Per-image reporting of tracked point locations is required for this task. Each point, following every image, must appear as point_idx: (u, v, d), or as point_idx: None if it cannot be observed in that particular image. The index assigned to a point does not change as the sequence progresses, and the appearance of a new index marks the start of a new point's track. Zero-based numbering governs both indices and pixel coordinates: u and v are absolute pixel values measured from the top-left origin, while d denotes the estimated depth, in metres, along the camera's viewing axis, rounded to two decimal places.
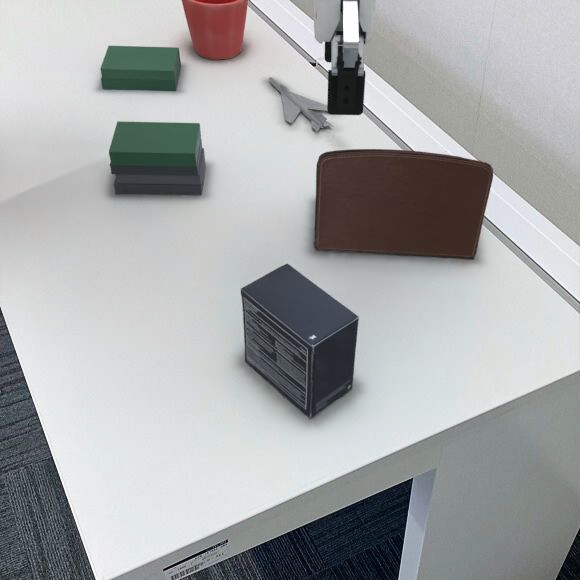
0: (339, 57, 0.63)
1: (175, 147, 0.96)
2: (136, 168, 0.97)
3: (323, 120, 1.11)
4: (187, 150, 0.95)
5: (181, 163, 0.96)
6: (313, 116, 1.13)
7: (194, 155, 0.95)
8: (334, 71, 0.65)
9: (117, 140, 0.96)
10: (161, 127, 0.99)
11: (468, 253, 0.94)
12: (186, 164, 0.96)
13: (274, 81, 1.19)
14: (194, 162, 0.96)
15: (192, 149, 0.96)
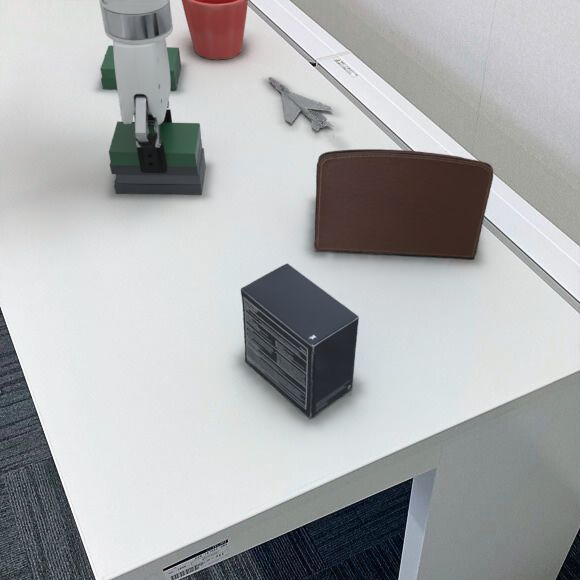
0: None
1: (175, 147, 0.96)
2: (136, 168, 0.97)
3: (323, 120, 1.11)
4: (187, 150, 0.95)
5: (181, 164, 0.96)
6: (313, 116, 1.13)
7: (194, 155, 0.95)
8: (138, 145, 0.92)
9: (117, 140, 0.96)
10: (161, 127, 0.99)
11: (468, 253, 0.94)
12: (186, 164, 0.96)
13: (274, 81, 1.19)
14: (194, 162, 0.96)
15: (192, 149, 0.96)
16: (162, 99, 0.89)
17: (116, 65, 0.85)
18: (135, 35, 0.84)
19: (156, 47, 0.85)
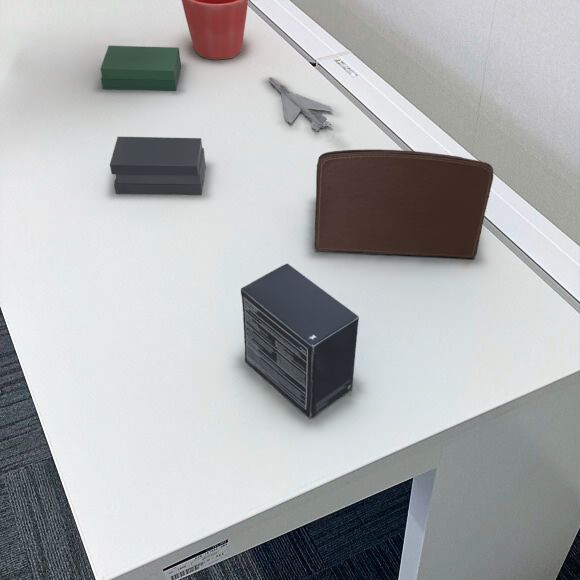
0: None
1: None
2: (136, 168, 0.97)
3: (323, 120, 1.11)
4: None
5: None
6: (313, 116, 1.13)
7: None
8: None
9: None
10: None
11: (468, 253, 0.94)
12: None
13: (274, 81, 1.19)
14: None
15: None
16: None
17: None
18: None
19: None
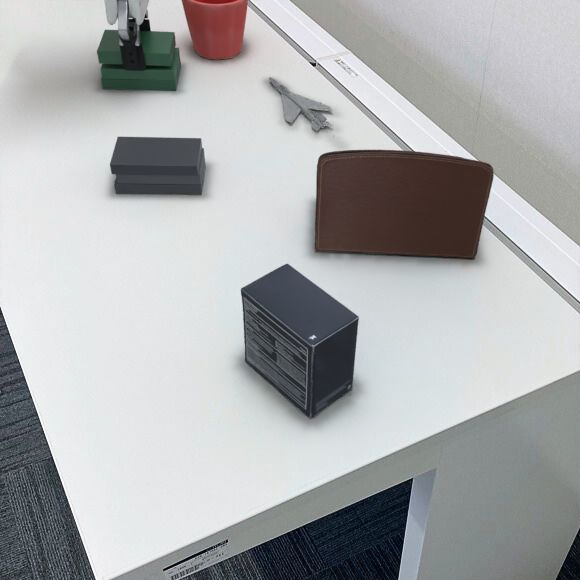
0: None
1: (153, 49, 1.14)
2: (136, 168, 0.97)
3: (323, 120, 1.11)
4: (162, 51, 1.14)
5: (158, 63, 1.14)
6: (313, 116, 1.13)
7: (169, 55, 1.14)
8: (121, 43, 1.10)
9: (104, 43, 1.14)
10: (141, 34, 1.17)
11: (468, 253, 0.94)
12: (162, 63, 1.14)
13: (274, 81, 1.19)
14: (169, 61, 1.14)
15: (167, 50, 1.14)
16: (141, 3, 1.08)
17: None
18: None
19: None
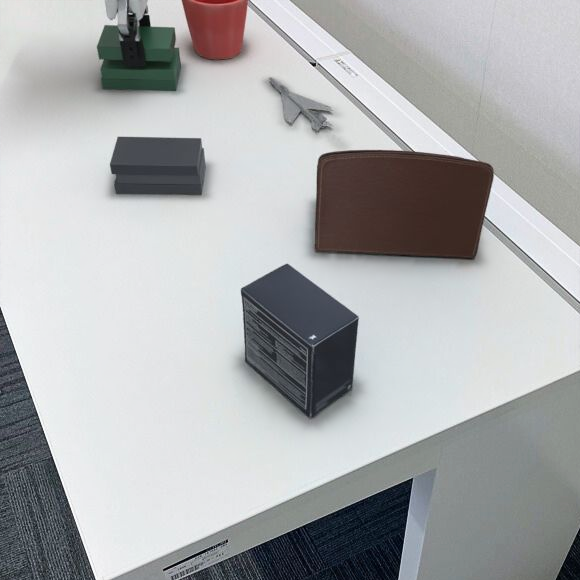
0: (119, 29, 1.08)
1: (153, 44, 1.13)
2: (136, 168, 0.97)
3: (323, 120, 1.11)
4: (163, 46, 1.13)
5: (158, 58, 1.14)
6: (313, 116, 1.13)
7: (169, 50, 1.13)
8: (121, 39, 1.10)
9: (104, 38, 1.14)
10: (141, 29, 1.16)
11: (468, 254, 0.94)
12: (162, 59, 1.14)
13: (274, 81, 1.19)
14: (169, 56, 1.14)
15: (167, 46, 1.13)
16: None
17: None
18: None
19: None
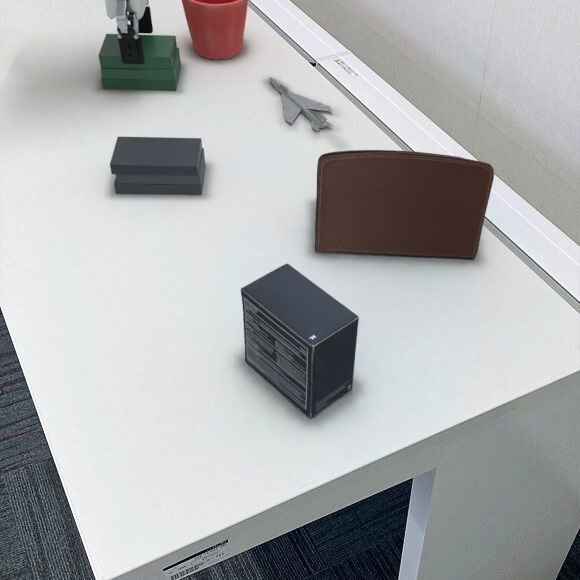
0: (118, 27, 1.06)
1: (154, 53, 1.14)
2: (136, 168, 0.97)
3: (323, 120, 1.11)
4: (164, 55, 1.14)
5: (159, 67, 1.15)
6: (313, 116, 1.13)
7: (170, 59, 1.14)
8: (119, 35, 1.08)
9: (106, 47, 1.15)
10: (143, 38, 1.17)
11: (468, 254, 0.94)
12: (163, 67, 1.15)
13: (274, 81, 1.19)
14: (170, 65, 1.15)
15: (168, 54, 1.14)
16: None
17: None
18: None
19: None
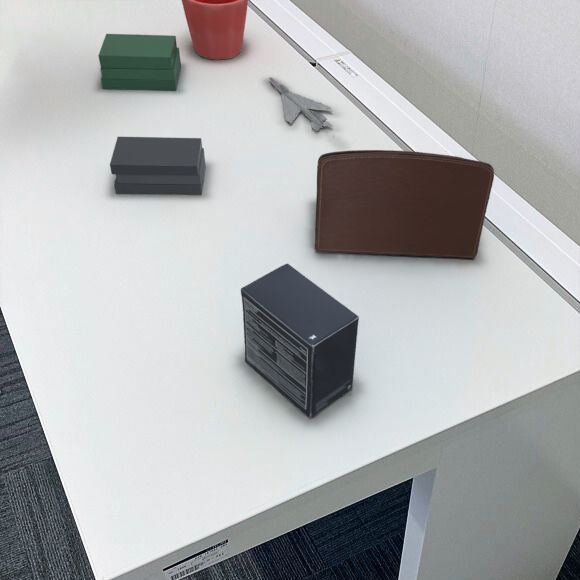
0: None
1: (154, 53, 1.14)
2: (136, 168, 0.97)
3: (323, 120, 1.11)
4: (164, 55, 1.14)
5: (159, 67, 1.15)
6: (313, 116, 1.13)
7: (170, 59, 1.14)
8: None
9: (106, 47, 1.15)
10: (143, 38, 1.17)
11: (468, 254, 0.94)
12: (163, 67, 1.15)
13: (274, 81, 1.19)
14: (170, 65, 1.15)
15: (168, 54, 1.14)
16: None
17: None
18: None
19: None
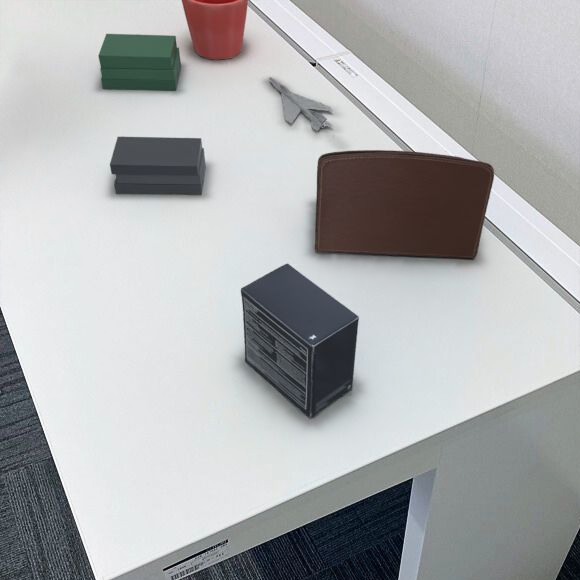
0: None
1: (154, 53, 1.14)
2: (136, 168, 0.97)
3: (323, 120, 1.11)
4: (164, 55, 1.14)
5: (159, 67, 1.15)
6: (313, 116, 1.13)
7: (170, 59, 1.14)
8: None
9: (106, 47, 1.15)
10: (143, 38, 1.17)
11: (468, 254, 0.94)
12: (163, 67, 1.15)
13: (274, 81, 1.19)
14: (170, 65, 1.15)
15: (168, 54, 1.14)
16: None
17: None
18: None
19: None
